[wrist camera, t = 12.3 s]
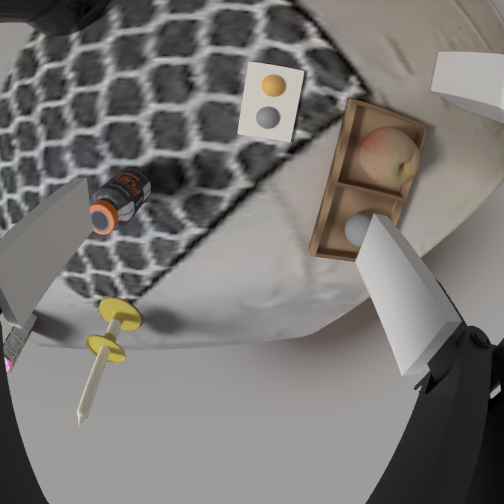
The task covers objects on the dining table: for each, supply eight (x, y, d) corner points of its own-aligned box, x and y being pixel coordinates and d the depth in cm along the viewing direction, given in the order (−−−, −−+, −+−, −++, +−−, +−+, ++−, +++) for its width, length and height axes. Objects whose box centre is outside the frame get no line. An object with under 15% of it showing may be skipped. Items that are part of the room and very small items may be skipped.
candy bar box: (32, 331, 61) (10, 373, 47) (20, 321, 59) (-3, 362, 45) (39, 317, 57) (13, 363, 43) (25, 305, 55) (-2, 351, 41)
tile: (248, 61, 29) (248, 61, 29) (303, 71, 30) (304, 71, 29) (237, 133, 35) (237, 134, 34) (290, 141, 35) (290, 142, 35)
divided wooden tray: (347, 97, 31) (353, 98, 29) (420, 123, 32) (429, 127, 30) (308, 247, 44) (311, 256, 42) (374, 256, 45) (379, 264, 43)
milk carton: (429, 90, 29) (524, 115, 13) (437, 51, 25) (532, 58, 9) (460, 109, 30) (550, 145, 14) (469, 72, 26) (559, 93, 10)
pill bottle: (157, 175, 38) (126, 209, 28) (145, 208, 41) (116, 249, 31) (121, 160, 36) (82, 190, 27) (112, 194, 39) (76, 231, 30)
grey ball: (346, 204, 39) (356, 220, 35) (375, 210, 40) (387, 226, 36) (336, 233, 42) (345, 251, 38) (364, 237, 43) (375, 255, 38)
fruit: (377, 186, 38) (400, 209, 31) (340, 150, 35) (360, 167, 28) (411, 149, 34) (440, 166, 27) (377, 110, 31) (405, 119, 25)
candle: (107, 289, 50) (53, 407, 28) (149, 314, 54) (113, 436, 31) (94, 313, 54) (49, 417, 32) (131, 335, 58) (99, 442, 35)
